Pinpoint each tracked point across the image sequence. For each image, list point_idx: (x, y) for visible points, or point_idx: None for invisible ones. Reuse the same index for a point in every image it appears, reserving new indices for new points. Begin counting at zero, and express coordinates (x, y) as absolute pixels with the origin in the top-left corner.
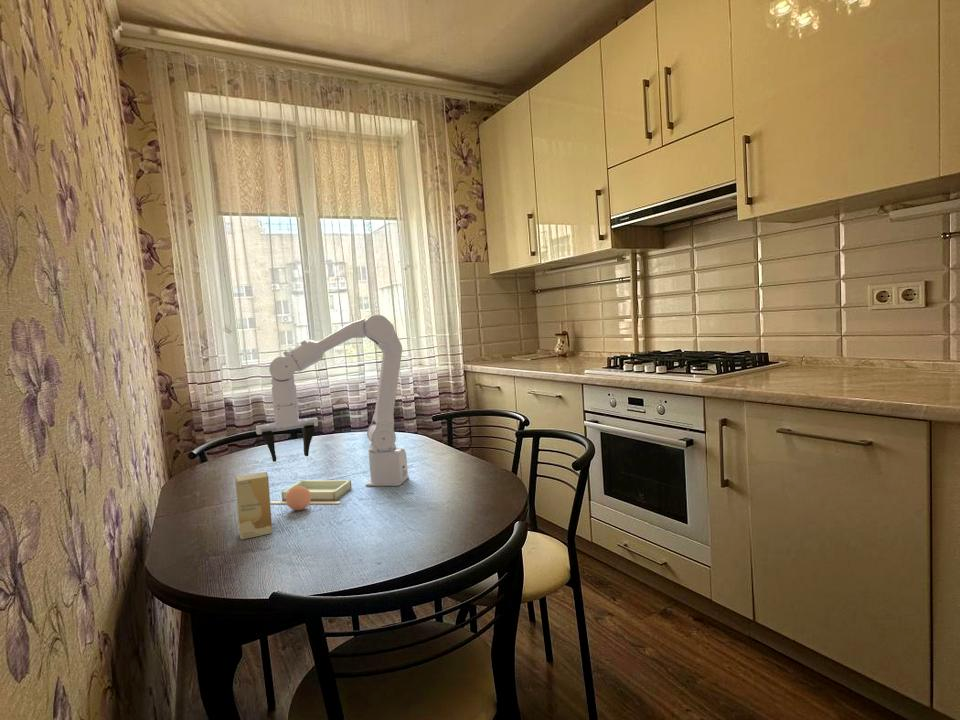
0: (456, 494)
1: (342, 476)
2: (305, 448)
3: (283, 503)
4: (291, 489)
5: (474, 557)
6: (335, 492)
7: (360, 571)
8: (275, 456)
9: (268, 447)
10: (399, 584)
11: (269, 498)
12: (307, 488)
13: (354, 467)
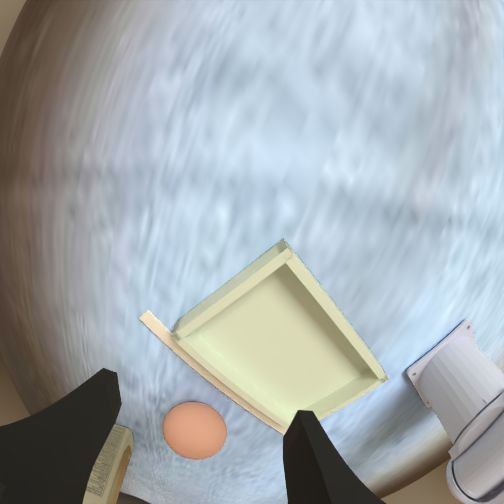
0: (411, 461)
1: (445, 214)
2: (286, 477)
3: (174, 349)
4: (173, 448)
5: None
6: None
7: None
8: (109, 427)
9: (47, 413)
10: None
11: (119, 489)
12: (290, 281)
13: (498, 152)
